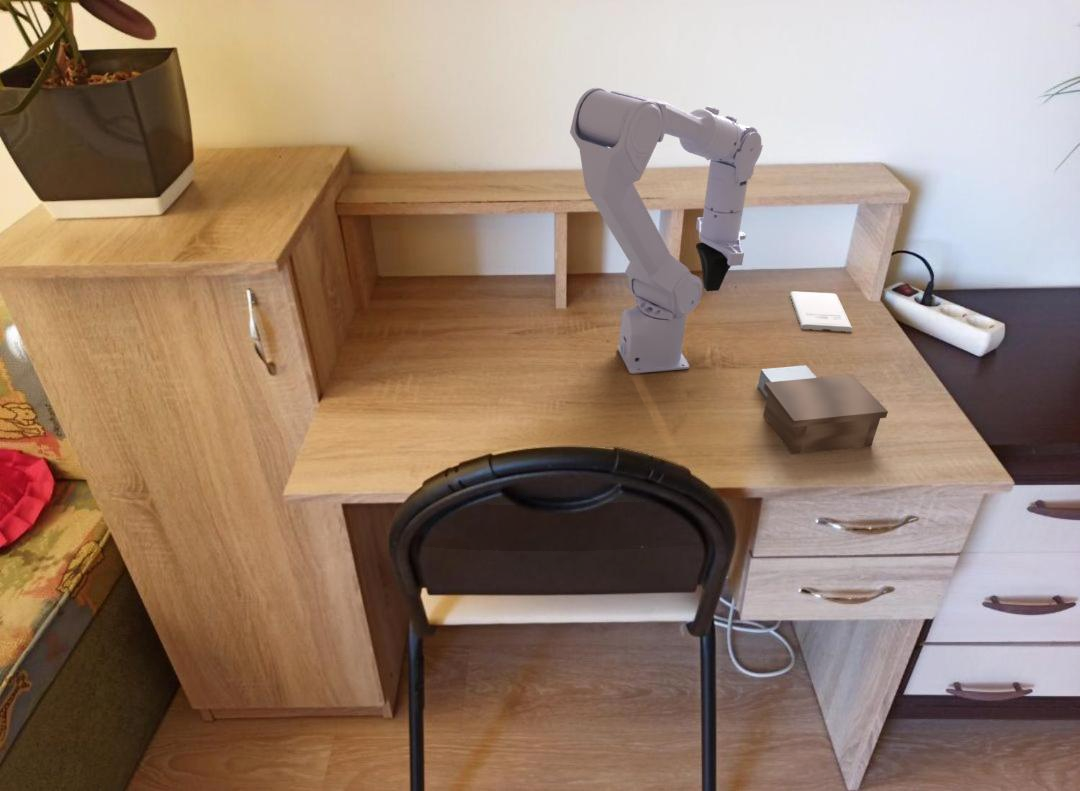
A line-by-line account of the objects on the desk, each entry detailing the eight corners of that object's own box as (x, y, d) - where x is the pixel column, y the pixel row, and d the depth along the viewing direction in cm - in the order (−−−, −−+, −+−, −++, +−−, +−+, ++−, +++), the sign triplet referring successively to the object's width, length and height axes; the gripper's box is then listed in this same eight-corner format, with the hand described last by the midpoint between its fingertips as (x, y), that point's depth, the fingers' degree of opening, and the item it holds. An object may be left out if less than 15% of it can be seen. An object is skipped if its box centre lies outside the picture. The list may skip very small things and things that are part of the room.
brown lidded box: (785, 454, 99) (794, 420, 96) (757, 415, 106) (764, 382, 103) (877, 445, 101) (888, 411, 98) (843, 406, 108) (852, 374, 105)
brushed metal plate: (800, 443, 101) (805, 425, 100) (757, 386, 113) (761, 369, 111) (848, 438, 102) (854, 420, 101) (801, 382, 114) (805, 365, 112)
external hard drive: (835, 301, 137) (850, 334, 127) (788, 299, 138) (800, 331, 128) (837, 293, 136) (852, 326, 126) (790, 290, 137) (802, 323, 127)
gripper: (769, 222, 108) (753, 308, 115) (730, 188, 119) (718, 268, 127) (722, 225, 107) (709, 311, 114) (688, 191, 118) (678, 271, 126)
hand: (711, 289), depth 121 cm, fingers closed
